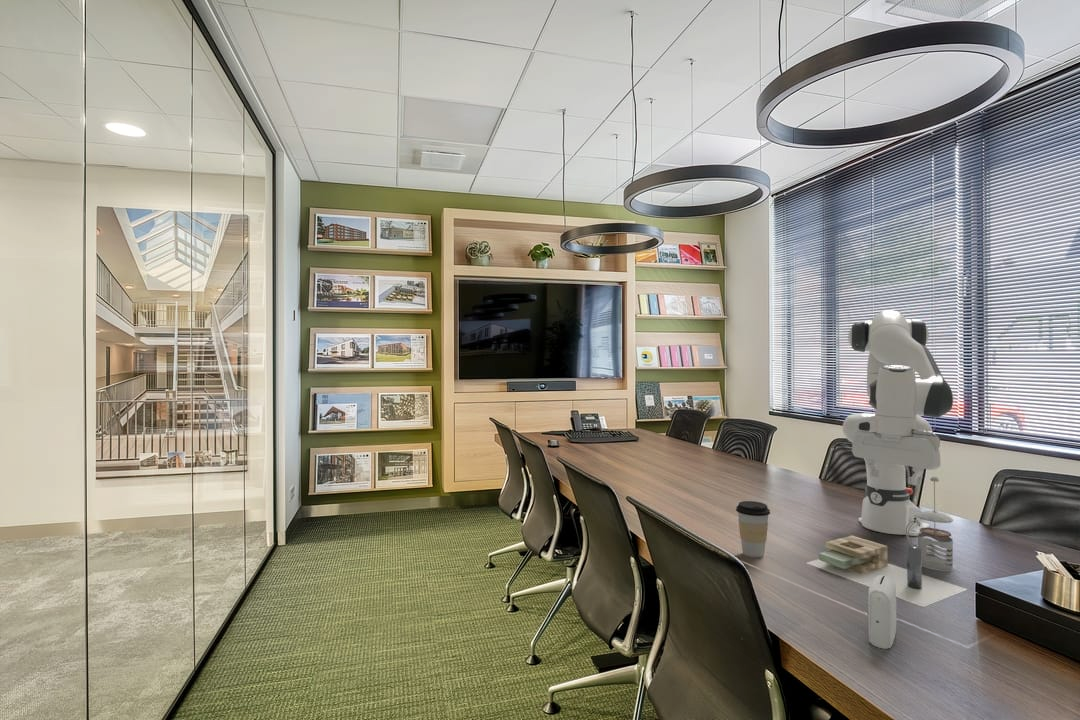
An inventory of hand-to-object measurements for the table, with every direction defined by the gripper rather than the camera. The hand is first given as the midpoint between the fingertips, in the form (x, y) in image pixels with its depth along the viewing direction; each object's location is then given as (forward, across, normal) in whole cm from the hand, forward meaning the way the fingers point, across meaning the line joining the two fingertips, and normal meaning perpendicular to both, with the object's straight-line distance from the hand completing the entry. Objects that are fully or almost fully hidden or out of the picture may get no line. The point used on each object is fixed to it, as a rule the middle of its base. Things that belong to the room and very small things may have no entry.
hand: (892, 480), depth 135 cm
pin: (+26, -5, -2) cm, 26 cm away
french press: (+26, +1, -22) cm, 34 cm away
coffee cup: (+28, +30, +16) cm, 44 cm away
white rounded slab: (+28, -15, +29) cm, 43 cm away
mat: (+26, +3, -2) cm, 27 cm away
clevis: (+26, +11, -2) cm, 28 cm away
